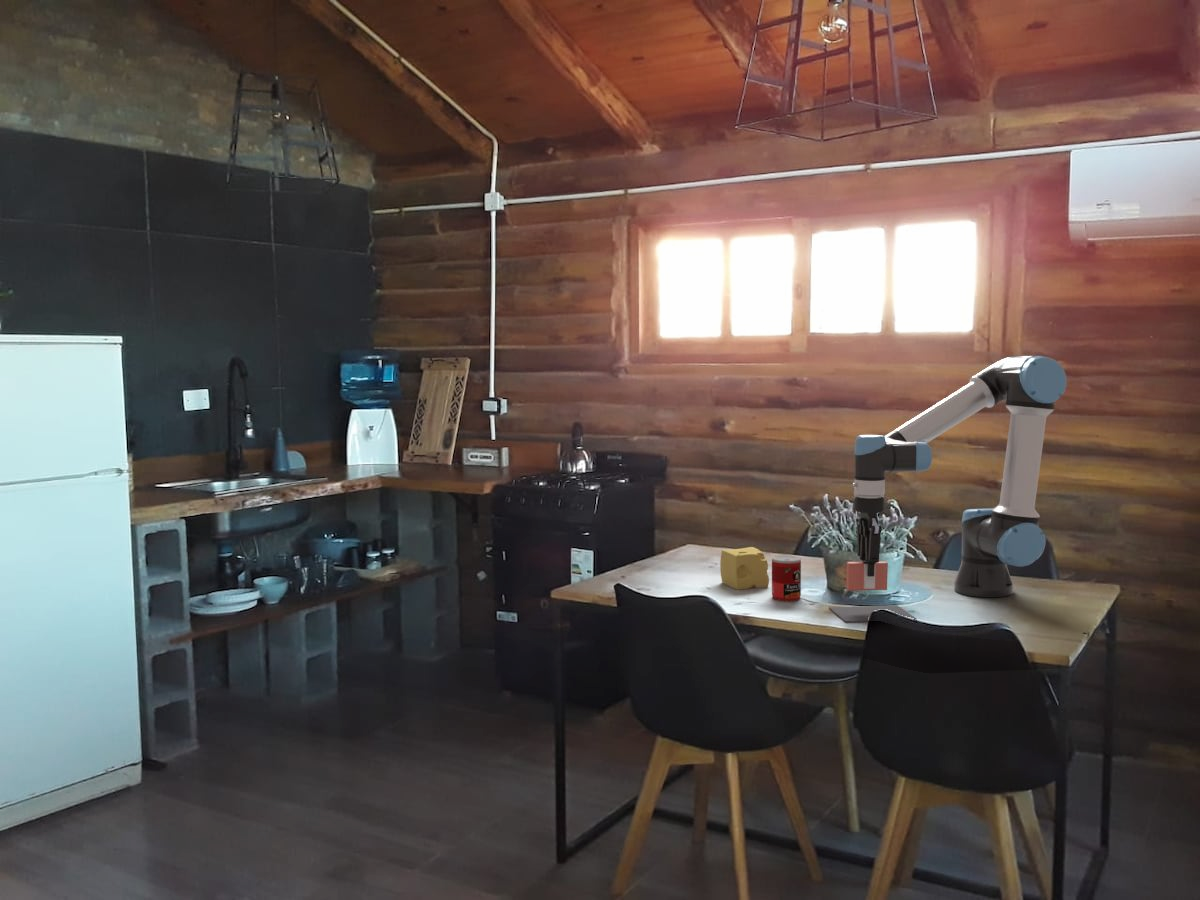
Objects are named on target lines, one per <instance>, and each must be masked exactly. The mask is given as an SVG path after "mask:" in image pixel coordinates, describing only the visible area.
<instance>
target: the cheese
mask: <svg viewBox="0 0 1200 900" xmlns="http://www.w3.org/2000/svg"><path fill="white" fill-rule="evenodd" d="M763 552H764V551H761V550H760V549H758V548H756V547H753V546H749V547H742V548H736V549H735V548H734V549H723V550H721V553H720V561H719V563H720V564H719V565H720V566H719V567H720V569H719V570H720V578H721V583H722V584H724V585H726V586H729V587H731V588H732V589H735V590H737V591H739V590H748V589H751V588H756V589H758V588H759V589H761V588H762V589H763V588H768V587H769V584H770V578H769V574H768V569H769V564H768V561H767V559H766V557H765V554H764V553H763Z"/></svg>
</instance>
